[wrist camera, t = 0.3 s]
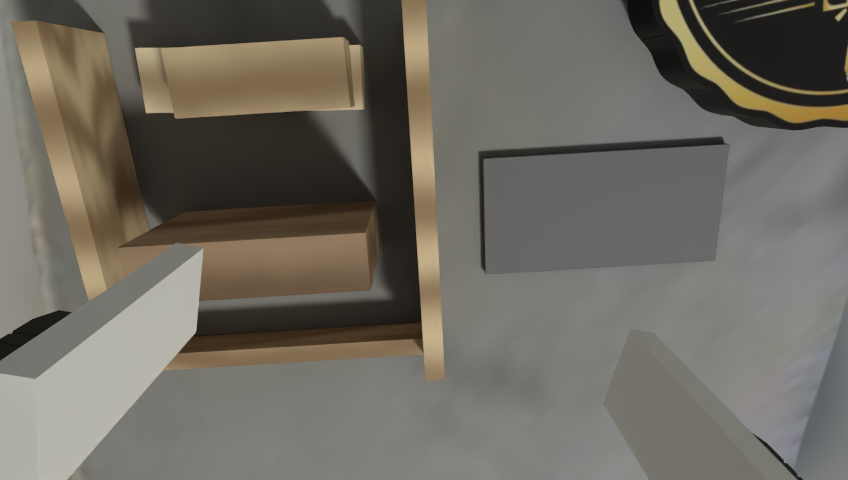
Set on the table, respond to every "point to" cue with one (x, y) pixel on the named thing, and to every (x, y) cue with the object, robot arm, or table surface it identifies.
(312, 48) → the slab short
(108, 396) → the robot arm
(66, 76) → the rack
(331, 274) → the brown wooden block
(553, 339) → the table surface
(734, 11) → the sign
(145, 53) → the slab long
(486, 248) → the mat
